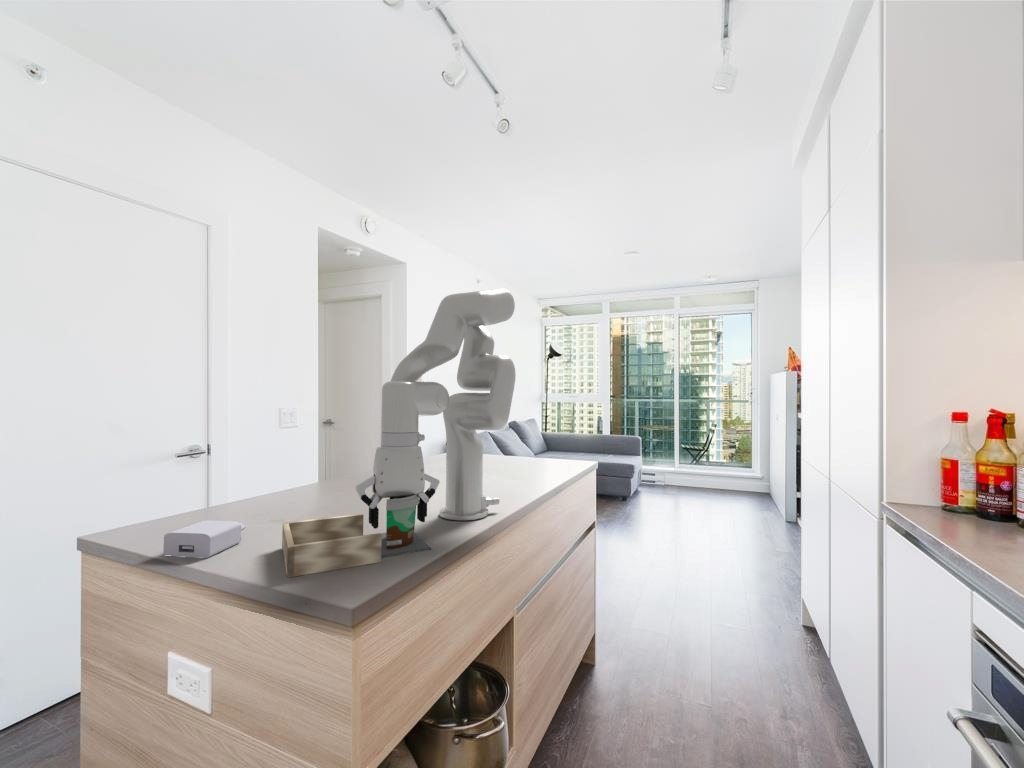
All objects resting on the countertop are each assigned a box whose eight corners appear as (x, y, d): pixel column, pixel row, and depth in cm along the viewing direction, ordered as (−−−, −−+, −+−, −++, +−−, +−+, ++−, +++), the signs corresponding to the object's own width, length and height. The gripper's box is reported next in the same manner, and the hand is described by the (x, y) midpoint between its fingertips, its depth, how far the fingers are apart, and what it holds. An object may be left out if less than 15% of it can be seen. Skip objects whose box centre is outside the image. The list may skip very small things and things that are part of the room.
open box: (362, 536, 98) (362, 513, 98) (381, 561, 83) (381, 534, 83) (282, 548, 90) (282, 522, 91) (287, 577, 76) (288, 547, 76)
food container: (417, 550, 88) (418, 499, 89) (385, 552, 87) (386, 500, 88) (420, 532, 101) (420, 486, 101) (391, 533, 100) (392, 487, 100)
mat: (410, 530, 103) (410, 529, 103) (431, 548, 91) (431, 546, 91) (365, 537, 98) (365, 535, 98) (380, 557, 86) (380, 555, 86)
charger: (259, 535, 99) (209, 559, 84) (219, 534, 100) (162, 557, 85) (260, 513, 100) (210, 533, 85) (220, 512, 100) (163, 532, 85)
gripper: (433, 437, 102) (432, 514, 101) (353, 440, 93) (351, 524, 93) (445, 440, 95) (444, 522, 95) (360, 444, 87) (358, 534, 86)
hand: (398, 523), depth 94 cm, fingers open, 9 cm apart
